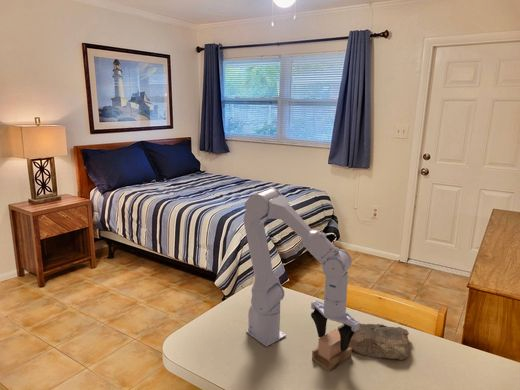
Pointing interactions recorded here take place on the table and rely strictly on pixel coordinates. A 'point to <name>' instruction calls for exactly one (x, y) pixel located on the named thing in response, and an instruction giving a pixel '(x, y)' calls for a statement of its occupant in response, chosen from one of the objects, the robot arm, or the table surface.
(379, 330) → the rough brown rock
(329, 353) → the clay bar
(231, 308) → the table surface
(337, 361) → the rack
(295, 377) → the table surface
